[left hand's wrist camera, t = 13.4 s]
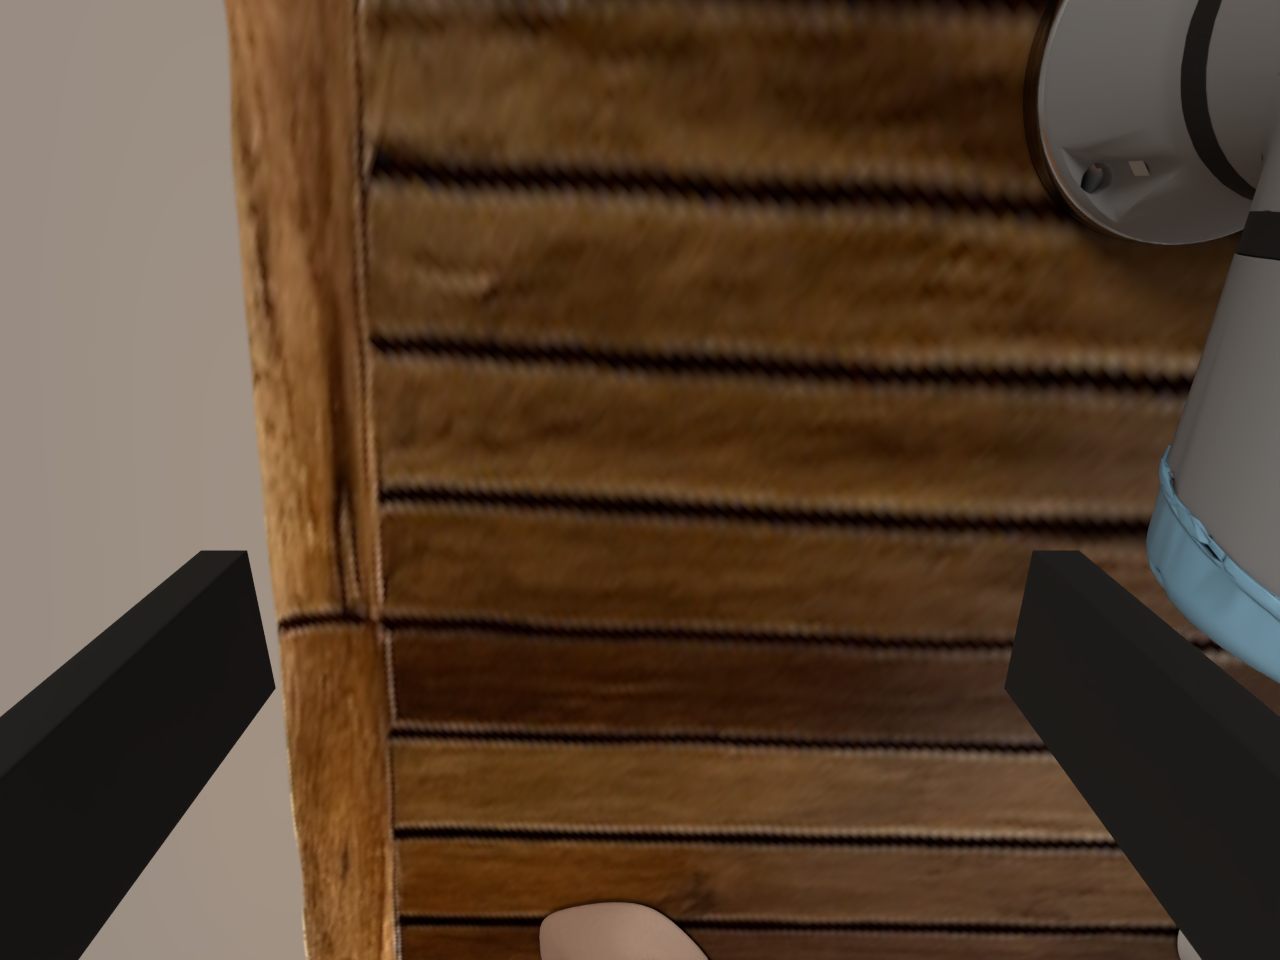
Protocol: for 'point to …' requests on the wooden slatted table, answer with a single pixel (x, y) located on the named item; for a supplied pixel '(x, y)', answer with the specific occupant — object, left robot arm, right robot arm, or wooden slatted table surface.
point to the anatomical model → (614, 934)
